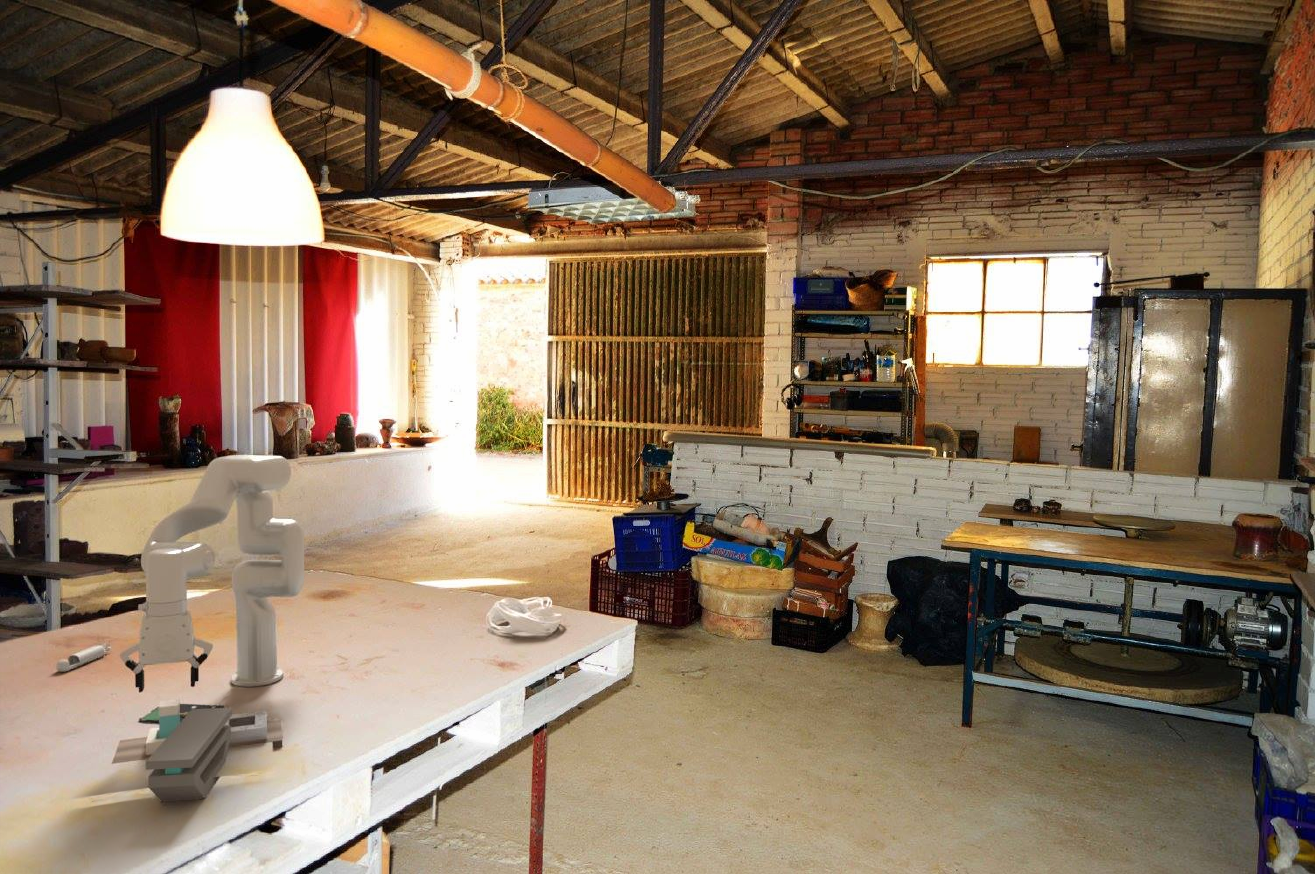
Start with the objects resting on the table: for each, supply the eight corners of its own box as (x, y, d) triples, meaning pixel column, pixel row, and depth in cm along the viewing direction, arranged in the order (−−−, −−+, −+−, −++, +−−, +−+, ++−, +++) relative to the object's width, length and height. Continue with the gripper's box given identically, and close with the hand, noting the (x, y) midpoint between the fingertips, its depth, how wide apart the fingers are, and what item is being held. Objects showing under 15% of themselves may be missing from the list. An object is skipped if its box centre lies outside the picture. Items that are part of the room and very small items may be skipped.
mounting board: (120, 747, 194) (119, 740, 194) (281, 726, 207) (281, 719, 207) (111, 770, 183) (111, 763, 183) (282, 746, 196) (282, 739, 196)
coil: (550, 643, 275) (551, 613, 274) (474, 636, 278) (475, 606, 278) (571, 622, 299) (572, 594, 299) (501, 615, 303) (502, 587, 302)
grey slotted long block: (193, 816, 166) (192, 759, 165) (147, 819, 165) (145, 761, 164) (232, 757, 191) (232, 707, 190) (193, 759, 189) (192, 709, 188)
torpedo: (67, 674, 238) (66, 650, 237) (51, 673, 239) (50, 649, 238) (117, 653, 256) (116, 630, 255) (101, 652, 256) (101, 629, 256)
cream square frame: (150, 739, 195) (150, 728, 195) (192, 734, 198) (192, 723, 198) (146, 754, 187) (145, 743, 187) (190, 748, 191) (190, 737, 191)
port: (217, 729, 201) (217, 716, 201) (266, 723, 205) (266, 710, 205) (216, 747, 192) (215, 733, 192) (267, 740, 196) (267, 726, 196)
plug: (161, 742, 194) (160, 701, 193) (180, 739, 195) (179, 699, 195) (159, 748, 190) (158, 707, 190) (178, 746, 192) (178, 705, 191)
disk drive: (224, 716, 214) (164, 713, 214) (224, 704, 213) (163, 701, 214) (200, 734, 203) (136, 730, 204) (200, 722, 203) (136, 718, 204)
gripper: (116, 615, 183) (117, 698, 184) (211, 608, 190) (212, 688, 191) (121, 606, 190) (122, 686, 191) (213, 600, 197) (213, 677, 198)
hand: (167, 687), depth 191 cm, fingers open, 9 cm apart
